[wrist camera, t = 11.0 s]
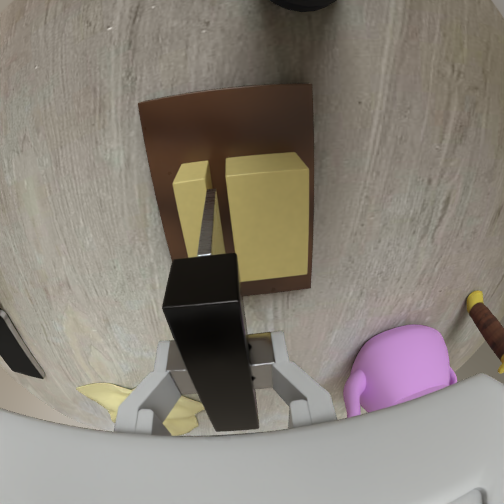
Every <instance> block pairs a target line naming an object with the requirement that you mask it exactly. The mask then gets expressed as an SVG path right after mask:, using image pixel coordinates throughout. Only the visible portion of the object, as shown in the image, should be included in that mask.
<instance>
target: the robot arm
mask: <svg viewBox="0 0 504 504" xmlns="http://www.w3.org/2000/svg"><path fill="white" fill-rule="evenodd" d="M247 337H248V346H249V359H250V368H251V375H252V382H253V388H254V389H263V388H273V389H274V390H275V391H276V392H277V393H278V395H279V396H280V397H281V398H282V399H283V400H284V401H285V402H286V404H287V405H288V406H289V421H288V429H283V430H275V431H267V432H257V433H246V434H232V435H212V436H171V433H170V432H169V431H168V430H167V428H166V427H165V426H164V425H163V422H164V420H165V419H166V417H167V416H168V415H169V413H170V412H171V410H172V409H173V407H174V406H175V404H176V403H177V401H178V400H179V398H180V397H181V394H194V393H197V391H196V389H195V387H194V385H193V383H192V380H191V378H190V376H189V373H188V371H187V369H186V367H185V364H184V362H183V360H182V357H181V355H180V352H179V350H178V348H177V345H176V343H175V340H169V341H159V343H158V347H157V353H156V359H155V365H154V371H153V372H150V373H149V374H148V375H147V376H146V377H145V378H144V379H143V380H142V381H141V383H140V384H139V385H138V386H137V387H136V388H135V389H134V390H133V391H132V392H131V393H130V395H129V396H128V397H127V398H126V399H125V400H124V401H123V402H122V403H121V404H120V406H119V407H118V411H117V417H116V422H115V428H114V432H110V431H102V430H94V429H88V428H81V427H76V426H70V425H65V424H60V423H55V422H50V421H46V420H42V419H37V418H33V417H29V416H26V415H22V414H19V413H15V412H11V411H8V410H5V409H1V408H0V504H504V384H502V383H501V382H499V381H498V380H496V379H494V378H492V377H490V376H488V375H486V374H484V373H478V374H475V375H473V376H470V377H468V378H466V379H464V380H461V381H459V382H457V383H454V384H452V385H450V386H447V387H445V388H442V389H440V390H437V391H434V392H432V393H429V394H426V395H423V396H421V397H418V398H415V399H412V400H409V401H406V402H403V403H400V404H397V405H393V406H390V407H387V408H383V409H380V410H376V411H372V412H369V413H365V414H361V415H357V416H353V417H349V418H344V419H340V420H337V417H336V413H335V409H334V406H333V402H332V398H331V394H330V393H329V392H328V391H327V390H325V389H324V388H323V387H322V386H321V385H320V384H318V383H317V382H316V381H315V380H314V379H313V378H312V377H310V376H309V375H308V374H307V373H306V372H305V371H304V370H302V369H301V368H300V367H299V366H298V365H297V364H296V363H295V362H293V361H289V356H288V351H287V347H286V342H285V337H284V332H283V331H274V332H265V333H257V334H248V335H247Z"/></svg>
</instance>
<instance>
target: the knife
mask: <svg viewBox="0 0 504 504" xmlns="http://www.w3.org/2000/svg"><path fill="white" fill-rule="evenodd" d="M467 311H468V313H469V315H470V317H471V318H472V319H473V321H474V323H475V324H476V326H477V328H478V329H479V331H480V332H481V334H482V335H483V337H484V339H485V340H486V341H487V343H488V344H489V346H490V347H491V349H492V350H493V351H494V353H495V354H496V355H497V357H498V358H499V359H500V361H501V362H502V365H501V366H500V367H499V369H498V372H499V373H503V372H504V328H503V327H502V325H501V324H500V322H499V321H498V320H497V318H496V317H495V316H494V315H493V314H492V313H491V311H490V310H489V309H488V308H487V307H486V306H485V305H484V303H483V294H482V291H478V290H477V291H474V292H472V293H471V294H470V295H469V296H468V298H467Z"/></svg>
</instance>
